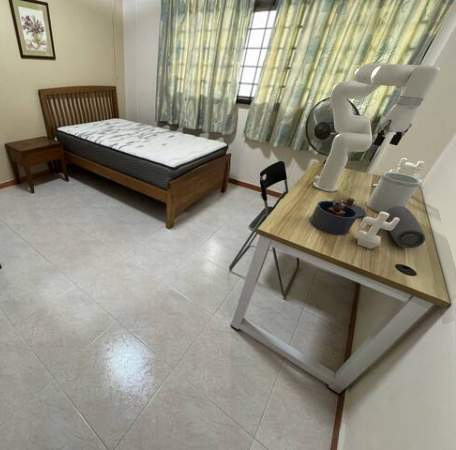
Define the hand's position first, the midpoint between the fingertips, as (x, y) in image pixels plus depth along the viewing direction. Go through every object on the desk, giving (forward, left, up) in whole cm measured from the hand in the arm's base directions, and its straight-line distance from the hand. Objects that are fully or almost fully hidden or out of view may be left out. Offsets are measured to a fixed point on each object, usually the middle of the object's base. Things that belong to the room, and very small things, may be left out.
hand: (384, 144), depth 107 cm
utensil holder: (+4, +17, -32) cm, 37 cm away
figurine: (+26, -22, -32) cm, 47 cm away
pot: (+11, -25, -32) cm, 42 cm away
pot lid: (+1, -4, -32) cm, 32 cm away
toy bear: (+11, -25, -32) cm, 42 cm away
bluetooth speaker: (+24, -2, -32) cm, 41 cm away
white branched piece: (-11, +45, -32) cm, 57 cm away
